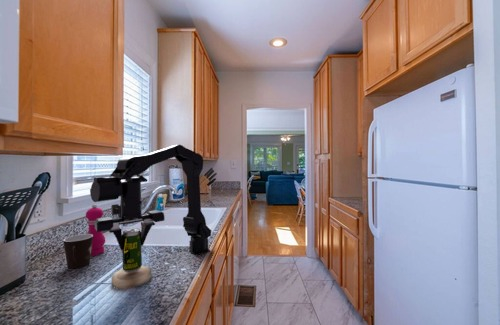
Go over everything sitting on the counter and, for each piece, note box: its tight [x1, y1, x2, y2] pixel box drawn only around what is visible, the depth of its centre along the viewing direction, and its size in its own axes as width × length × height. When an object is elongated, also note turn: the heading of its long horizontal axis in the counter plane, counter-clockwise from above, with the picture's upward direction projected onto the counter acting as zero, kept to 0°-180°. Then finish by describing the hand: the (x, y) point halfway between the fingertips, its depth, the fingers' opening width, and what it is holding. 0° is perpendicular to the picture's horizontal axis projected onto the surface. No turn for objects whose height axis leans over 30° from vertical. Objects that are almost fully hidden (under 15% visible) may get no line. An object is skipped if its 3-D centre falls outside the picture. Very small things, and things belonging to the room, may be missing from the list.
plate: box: [111, 265, 152, 290], centre depth 74 cm, size 11×11×2 cm
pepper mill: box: [85, 203, 106, 257], centre depth 97 cm, size 7×7×20 cm
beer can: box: [121, 227, 143, 273], centre depth 74 cm, size 5×5×12 cm
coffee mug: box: [63, 233, 93, 271], centre depth 83 cm, size 12×9×10 cm
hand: (132, 247), depth 74 cm, fingers closed on beer can, 5 cm apart
